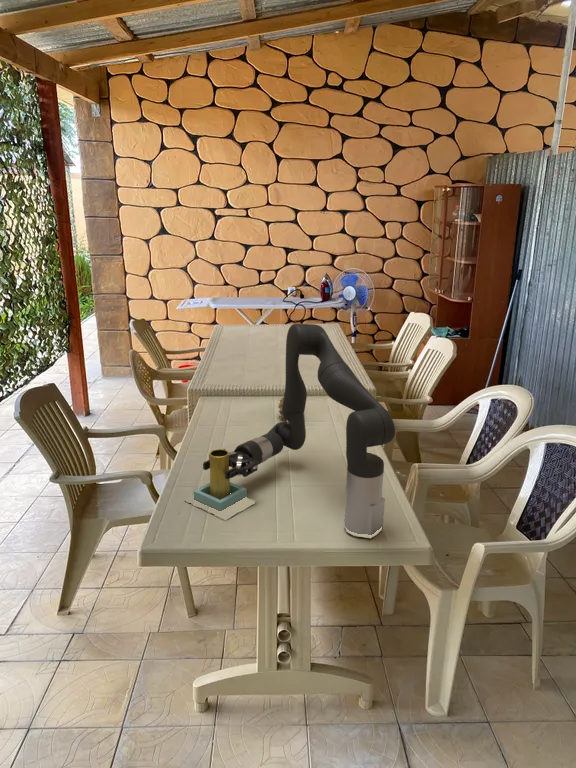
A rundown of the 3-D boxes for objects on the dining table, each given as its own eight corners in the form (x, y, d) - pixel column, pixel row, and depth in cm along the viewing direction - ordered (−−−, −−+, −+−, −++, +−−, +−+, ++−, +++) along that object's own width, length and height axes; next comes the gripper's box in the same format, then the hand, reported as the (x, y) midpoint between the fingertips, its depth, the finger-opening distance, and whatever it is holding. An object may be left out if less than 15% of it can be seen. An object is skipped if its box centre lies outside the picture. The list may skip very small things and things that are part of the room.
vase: (204, 498, 173) (203, 452, 168) (222, 491, 177) (221, 446, 172) (218, 506, 169) (217, 459, 164) (235, 499, 173) (235, 453, 168)
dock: (255, 503, 173) (255, 491, 171) (225, 520, 164) (225, 507, 162) (215, 486, 182) (215, 474, 181) (185, 501, 173) (184, 488, 172)
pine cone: (277, 412, 241) (277, 388, 238) (301, 412, 241) (302, 388, 238) (279, 434, 220) (279, 408, 217) (306, 434, 220) (306, 408, 217)
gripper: (236, 434, 183) (196, 451, 171) (272, 447, 175) (233, 466, 163) (236, 457, 186) (197, 475, 173) (272, 471, 177) (233, 491, 165)
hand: (214, 471), depth 168 cm, fingers open, 8 cm apart
